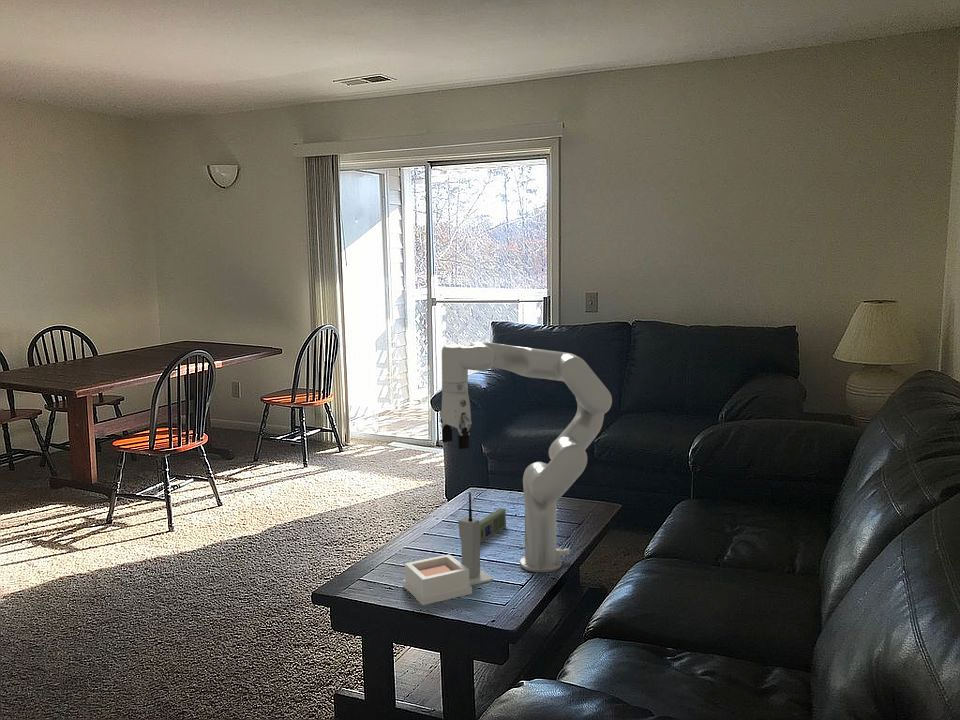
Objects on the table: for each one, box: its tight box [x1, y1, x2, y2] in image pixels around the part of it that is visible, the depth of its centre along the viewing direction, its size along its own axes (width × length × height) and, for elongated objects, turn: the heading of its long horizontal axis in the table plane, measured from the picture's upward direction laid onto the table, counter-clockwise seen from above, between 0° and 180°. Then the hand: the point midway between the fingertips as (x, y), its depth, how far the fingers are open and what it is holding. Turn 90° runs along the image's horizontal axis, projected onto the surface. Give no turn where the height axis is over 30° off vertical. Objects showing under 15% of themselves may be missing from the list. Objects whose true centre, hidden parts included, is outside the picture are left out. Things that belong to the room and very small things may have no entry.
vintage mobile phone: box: [457, 492, 481, 579], centre depth 234 cm, size 4×5×25 cm
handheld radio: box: [479, 507, 507, 545], centre depth 267 cm, size 7×3×25 cm
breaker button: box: [419, 565, 451, 576], centre depth 226 cm, size 8×7×3 cm
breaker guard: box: [402, 553, 473, 606], centre depth 226 cm, size 15×14×7 cm
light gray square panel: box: [469, 568, 494, 587], centre depth 235 cm, size 10×10×1 cm
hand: (455, 445), depth 235 cm, fingers open, 9 cm apart
